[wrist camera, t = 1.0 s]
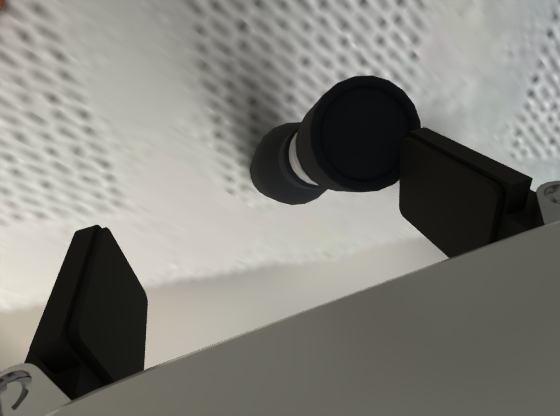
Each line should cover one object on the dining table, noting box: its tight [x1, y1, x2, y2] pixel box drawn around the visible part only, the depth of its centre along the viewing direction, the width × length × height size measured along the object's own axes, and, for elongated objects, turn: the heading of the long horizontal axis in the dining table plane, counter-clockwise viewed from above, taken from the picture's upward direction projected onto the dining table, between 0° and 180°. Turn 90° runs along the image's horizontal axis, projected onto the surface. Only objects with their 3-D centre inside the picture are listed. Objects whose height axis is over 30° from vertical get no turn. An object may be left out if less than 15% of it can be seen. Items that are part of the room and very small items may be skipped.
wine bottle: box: [250, 76, 421, 205], centre depth 26 cm, size 6×6×30 cm
